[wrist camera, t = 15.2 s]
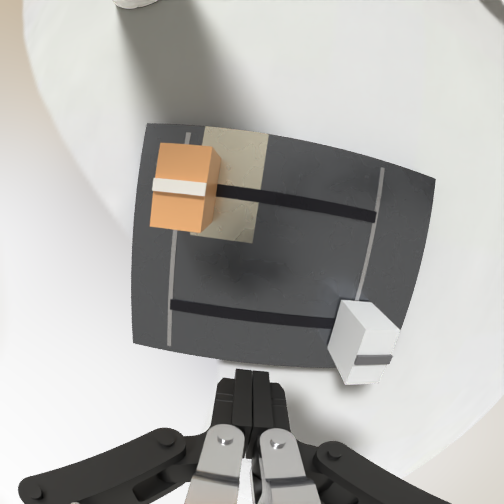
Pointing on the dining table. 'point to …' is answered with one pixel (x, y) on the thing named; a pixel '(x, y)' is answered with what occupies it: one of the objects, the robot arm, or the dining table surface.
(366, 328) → the white banded fader cap
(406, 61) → the dining table surface
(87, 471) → the robot arm
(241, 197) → the console
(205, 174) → the fader orange
